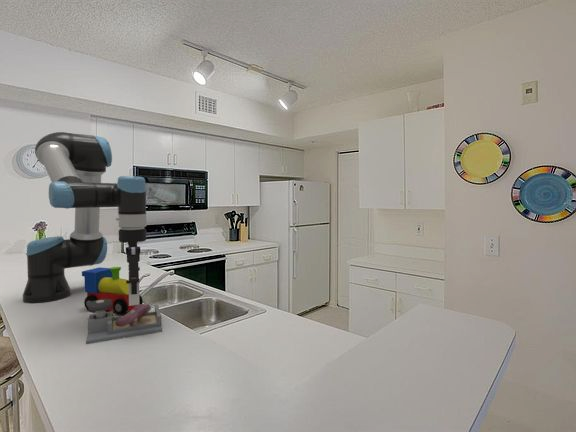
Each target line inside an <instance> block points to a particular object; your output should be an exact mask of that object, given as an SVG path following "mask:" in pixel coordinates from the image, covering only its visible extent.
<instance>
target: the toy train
mask: <svg viewBox="0 0 576 432" xmlns="http://www.w3.org/2000/svg"><path fill="white" fill-rule="evenodd" d="M121 270H122V267H121V266H112V267H96V268H91V269H87V270H82V271H81V277H84V293H86V297H85V299H84V302H83V304H84V308H85V309H86V310H87V311H88V312H94V311H90V310H88V303H89V302H91V301H95V300H100V299H110V300H112V307H111V308H109V309H106V310H105V311H113V312H114V313H115V314H116V315H118V316H124V315H126V314H127V313H128V312H129V311H131V310H132V309H134V307H135V306H137V305H132V306H129V283H128V284H126V280H127V279H125V278H120V271H121ZM139 304H144V302H143V297H142V296H141V294H139Z"/></svg>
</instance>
